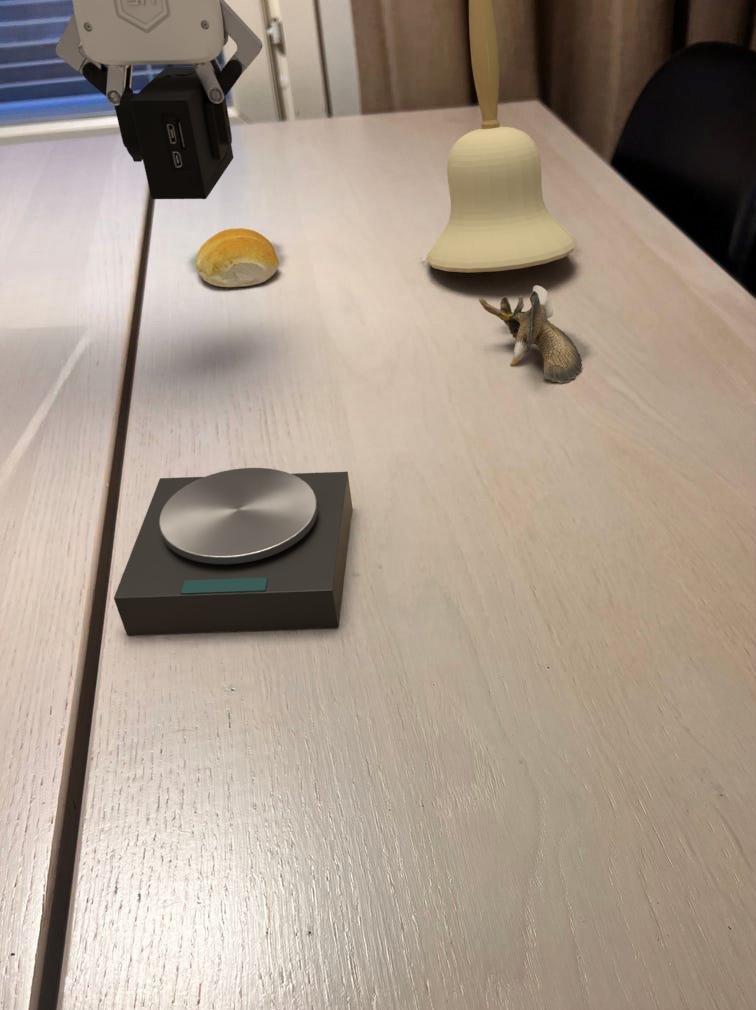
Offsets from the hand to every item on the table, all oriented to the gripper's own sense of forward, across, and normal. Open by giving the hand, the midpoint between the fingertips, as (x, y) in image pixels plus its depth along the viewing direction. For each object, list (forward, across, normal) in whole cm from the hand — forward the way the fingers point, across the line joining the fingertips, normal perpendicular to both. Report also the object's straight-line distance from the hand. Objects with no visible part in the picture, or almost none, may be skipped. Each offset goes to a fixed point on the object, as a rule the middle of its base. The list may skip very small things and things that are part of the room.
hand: (180, 153), depth 78 cm
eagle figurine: (+16, +28, -5) cm, 33 cm away
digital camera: (+2, 0, 0) cm, 2 cm away
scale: (+17, +7, -32) cm, 37 cm away
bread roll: (+17, 0, +18) cm, 24 cm away
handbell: (+16, +26, +16) cm, 35 cm away
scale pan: (+14, +7, -32) cm, 36 cm away
